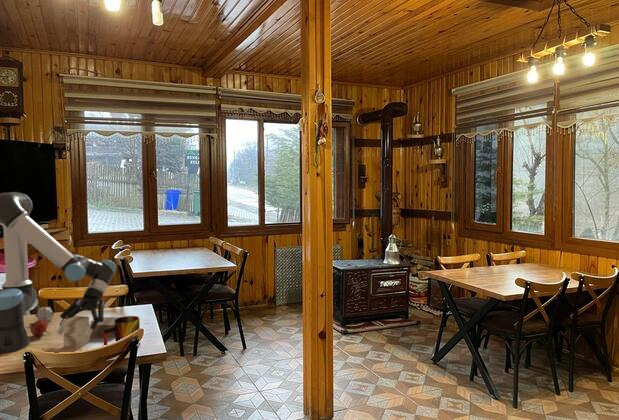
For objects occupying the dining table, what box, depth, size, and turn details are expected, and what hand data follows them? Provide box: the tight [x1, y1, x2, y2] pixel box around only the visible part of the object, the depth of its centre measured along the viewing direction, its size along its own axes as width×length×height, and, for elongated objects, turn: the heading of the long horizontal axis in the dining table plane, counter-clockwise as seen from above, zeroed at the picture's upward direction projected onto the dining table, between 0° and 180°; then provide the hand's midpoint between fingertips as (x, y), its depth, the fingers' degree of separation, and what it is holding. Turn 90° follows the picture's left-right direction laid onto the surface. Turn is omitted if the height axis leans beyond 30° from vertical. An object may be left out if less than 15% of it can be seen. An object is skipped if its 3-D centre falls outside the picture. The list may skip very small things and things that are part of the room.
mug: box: [103, 315, 141, 346], centre depth 191 cm, size 10×14×12 cm
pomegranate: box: [29, 319, 51, 338], centre depth 209 cm, size 7×7×10 cm
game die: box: [34, 305, 55, 323], centre depth 228 cm, size 9×8×10 cm
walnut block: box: [90, 316, 121, 339], centre depth 211 cm, size 12×12×6 cm
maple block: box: [62, 315, 91, 348], centre depth 198 cm, size 7×7×11 cm
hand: (72, 334), depth 195 cm, fingers open, 13 cm apart
